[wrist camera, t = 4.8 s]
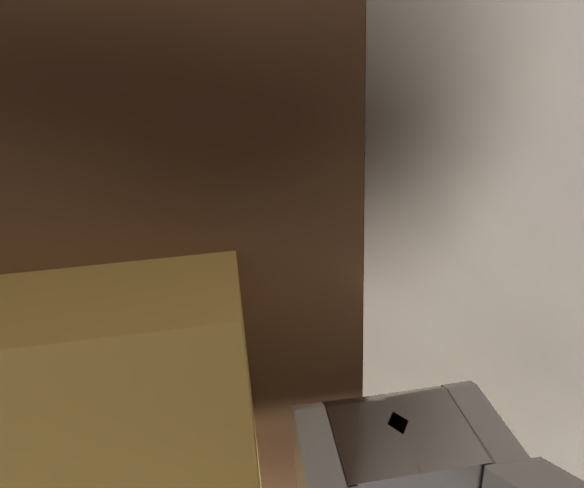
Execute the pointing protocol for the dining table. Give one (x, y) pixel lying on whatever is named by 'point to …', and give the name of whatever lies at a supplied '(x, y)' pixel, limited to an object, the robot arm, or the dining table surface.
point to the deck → (201, 168)
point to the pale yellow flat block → (126, 377)
